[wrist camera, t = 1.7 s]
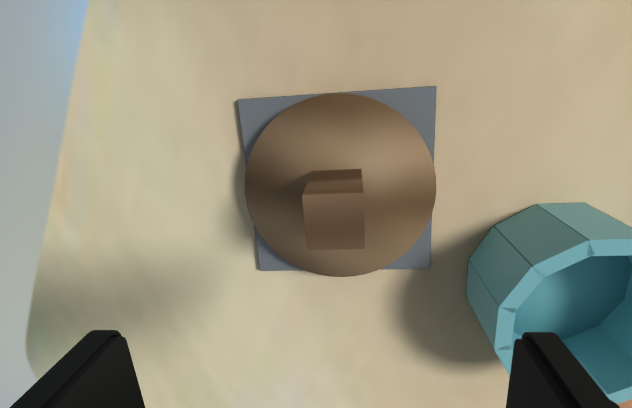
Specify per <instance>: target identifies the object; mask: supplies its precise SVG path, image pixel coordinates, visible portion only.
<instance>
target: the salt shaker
mask: <svg viewBox="0 0 632 408" xmlns="http://www.w3.org/2000/svg"><path fill="white" fill-rule="evenodd" d="M617 405H618V406H619V407H620V408H632V399H631V400H628V401H625V402H622V403H619V404H617Z"/></svg>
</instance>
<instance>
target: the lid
mask: <svg viewBox="0 0 632 408" xmlns="http://www.w3.org/2000/svg"><path fill="white" fill-rule="evenodd" d="M245 195H246V201H247V206H248V209H249V212H250V215H251V218H252V220H253V222H254V224H255V226H256V228H257V230H258V232H259V233H260V235H261V236H262V238H263V239H264V240H265V241H266V243H267V244H268V245H269V246H270V247H271V248H272V249H273V250H274V251H275V252H276V253H277V254H278V255H280V256H281V257H283V258H284V259H285V260H287V261H288V262H290V263H292V264H293V265H295V266H297V267H299V268H302V269H304V270H306V271H309V272H313V273H316V274H320V275H326V276H334V277H348V276H357V275H362V274H367V273H370V272H373V271H376V270H379V269H381V268H383V267H385V266H387V265H389V264H391V263H392V262H394V261H396V260H397V259H398V258H400V257H401V256H402V255H404V254H405V253H406V252H407V251H408V250H409V249H410V248H411V247H412V246H413V245H414V244H415V243H416V241H417V240H418V239H419V237H420V236H421V235H422V233H423V231H424V229H425V228H426V226H427V224H428V222H429V219H430V217H431V214H432V211H433V207H434V203H435V196H436V175H435V170H434V164H433V161H432V158H431V155H430V152H429V150H428V148H427V146H426V144H425V142H424V140H423V139H422V137H421V136H420V134H419V133H418V131H417V130H416V129H415V128H414V127H413V126H412V125H411V123H410V122H409V121H408V120H407V119H405V118H404V117H403V116H402V115H401V114H399V113H398V112H397V111H396V110H394V109H392V108H391V107H389V106H387V105H386V104H384V103H382V102H379V101H377V100H375V99H373V98H369V97H366V96H362V95H357V94H350V93H331V94H324V95H319V96H315V97H312V98H308V99H306V100H304V101H301V102H299V103H297V104H294V105H293V106H291V107H289V108H288V109H286V110H284V111H283V112H282V113H281V114H279V115H278V116H277V117H276V118H274V119H273V120H272V121H271V122H270V123H269V125H268V126H267V127H266V128H265V129H264V130H263V132H262V133H261V135H260V136H259V137H258V139H257V141H256V143H255V145H254V147H253V149H252V151H251V154H250V157H249V160H248V163H247V168H246V174H245Z"/></svg>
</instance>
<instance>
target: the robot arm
mask: <svg viewBox="0 0 632 408" xmlns="http://www.w3.org/2000/svg"><path fill="white" fill-rule="evenodd" d="M10 408H145V405H144V402H143V398H142V394H141V391H140V387H139V384H138V380H137V377H136V373H135V369H134V366H133V362H132V359H131V355H130V352H129V348H128V344H127V341H126V339H125V338H124V337H122V336H121V334H120V333H119V332H118V331H116V330H94V331H91V332H89V333H88V334H87V335H86V336H85V337H84V338H83V339H82V340H80V341H79V342H78V343H77V344H76V345H75V346H74V347H73V348H72V349H71V350H70V351H69V352H68V353H67V354H66V355H65V356H64V357H63V358H62V359H60V360H59V361H58V362H57V363H56V364H55V365H54V366H53V367H52V368H51V369H50V370H49V371H48V372H47V373H46V374H45V375H44V376H43V377H42V378H40V379H39V380H38V381H37V382H36V383H35V384H34V385H33V386H32V387H31V388H30V389H29V390H28V391H27V392H26V393H25V394H24V395H23V396H22V397H20V398H19V399H18V400H17V401H16V402H15V403H14V404H13V405H12V406H11V407H10ZM506 408H620V407H619V406H618V405H617V404H616V403H615V402H613V401H611V400H610V399H609V398H608V397H607V396H606V395H605V393H604V392H603V391H602V390H601V388H600V387H599V386H598V385H597V383H596V382H595V381H594V380H593V379H592V377H591V376H590V375H589V374H588V372H587V371H586V370H585V369H584V367H583V366H582V365H581V364H580V362H579V361H578V360H577V359H576V358H575V356H574V355H573V354H572V353H571V351H570V350H569V349H568V348H567V346H566V345H565V344H564V343H563V342H562V340H561V339H560V338H559V337H558V336H557V335H556V334H555V333H553V332H525V333H524V334H523V335H522V339H516V340H515V342H514V348H513V356H512V364H511V372H510V380H509V388H508V396H507V404H506Z"/></svg>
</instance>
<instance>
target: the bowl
mask: <svg viewBox="0 0 632 408" xmlns="http://www.w3.org/2000/svg"><path fill="white" fill-rule="evenodd" d="M494 226H495V227H494ZM494 226H493V227H492V229H491V230H490V231H489V233H488V234H487V235H486V237H485V238H484V239H483V241H482V242H481V244H480V245H479V246H478V248H477V249H476V250H475V252H474V253H473V254H472V256H471V257H470V258H469V260H468V274H467V287H466V297H467V299H468V301H469V303H470V305H471V307H472V308H473V310H474V312H475V314H476V316H477V318H478V320H479V322H480V324H481V326H482V328H483V330H484V332H485V334H486V335H487V337H488V339H489V341H490V343H491V345H492V347H493V349H494V351H495V352H496V354H497V356H498V357H499V359H500V360H501V362H502V364H503V365H504V367H505V368H506V370H507V372H508V373H509V375H510V372H511V364H512V356H513V348H514V342H515V340H516V339H522V335H523V334H524V333H525V332H553V333H555V334H556V335H557V336H558V337H559V338H560V339H561V340H562V342H563V343H564V344H565V345H566V346H567V348H568V349H569V350H570V351H571V353H572V354H573V355H574V356H575V358H576V359H577V360H578V361H579V362H580V364H581V365H582V366H583V367H584V369H585V370H586V371H587V372H588V374H589V375H590V376H591V377H592V379H593V380H594V381H595V382H596V383H597V385H598V386H599V387H600V388H601V390H602V391H603V392H604V393H605V395H606V396H607V397H608V398H609V399H610V400H611V401H613V402H615V403H616V404H619V403H622V402H625V401H628V400H631V399H632V227H630V226H628V225H626V224H624V223H623V222H621V221H619V220H617V219H615V218H613V217H611V216H609V215H607V214H605V213H603V212H602V211H600V210H598V209H596V208H594V207H592V206H590V205H588V204H586V203H554V204H537V205H536V204H535V205H533V206H531V207H529V208H527V209H526V210H524V211H522V212H520V213H518V214H516V215H514V216H512V217H510V218H508V219H506V220H504V221H502V222H500V223H498V224H496V225H494Z"/></svg>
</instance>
